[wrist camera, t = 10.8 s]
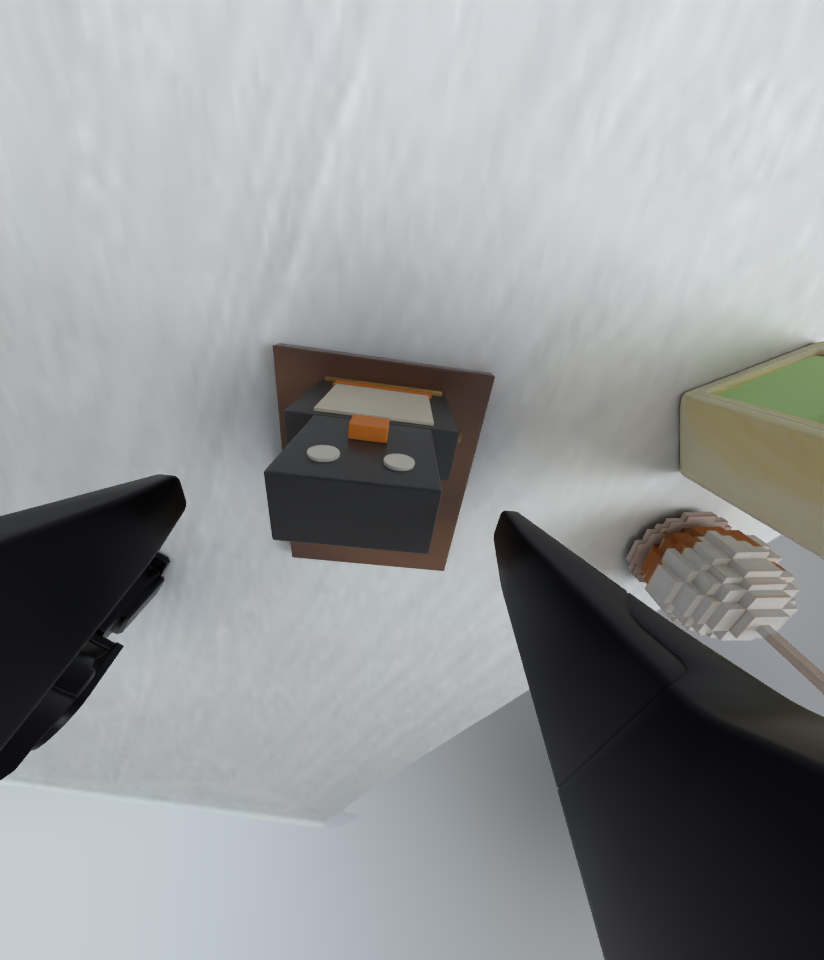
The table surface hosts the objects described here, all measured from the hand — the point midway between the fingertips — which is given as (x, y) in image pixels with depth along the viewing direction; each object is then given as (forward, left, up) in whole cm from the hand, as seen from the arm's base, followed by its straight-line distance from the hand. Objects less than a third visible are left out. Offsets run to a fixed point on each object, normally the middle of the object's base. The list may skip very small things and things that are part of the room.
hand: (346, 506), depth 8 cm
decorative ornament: (+27, +6, -13) cm, 30 cm away
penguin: (+1, -1, -6) cm, 6 cm away
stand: (+3, -5, -13) cm, 14 cm away
